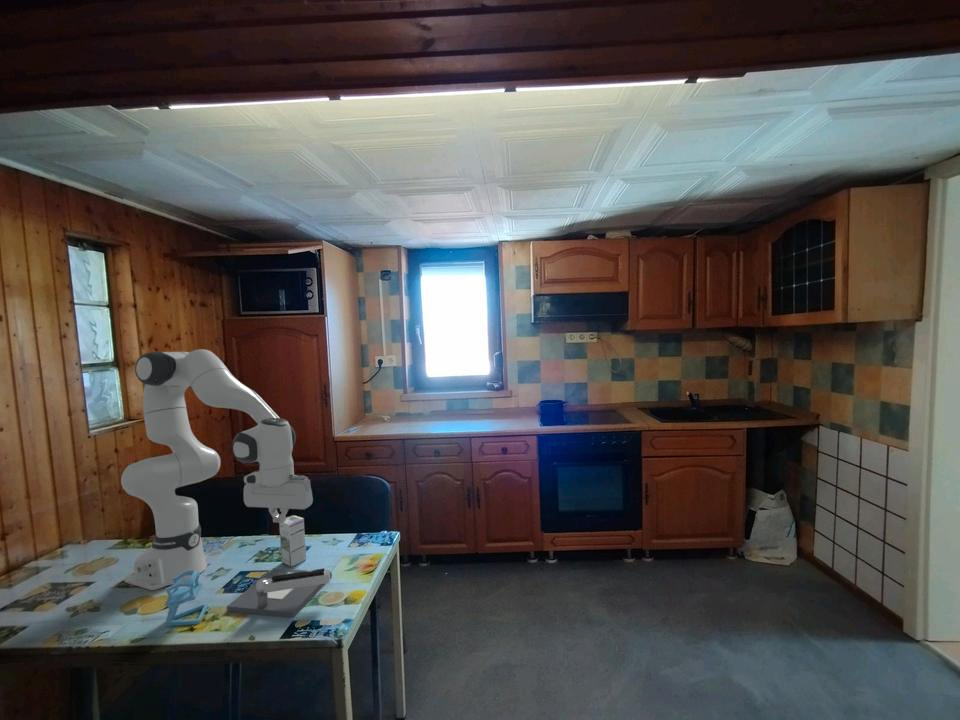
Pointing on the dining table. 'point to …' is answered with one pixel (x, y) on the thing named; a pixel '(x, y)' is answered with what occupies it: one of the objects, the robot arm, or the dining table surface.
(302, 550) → the syrup box
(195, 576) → the chair
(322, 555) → the dining table surface
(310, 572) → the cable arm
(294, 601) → the grey base plate
